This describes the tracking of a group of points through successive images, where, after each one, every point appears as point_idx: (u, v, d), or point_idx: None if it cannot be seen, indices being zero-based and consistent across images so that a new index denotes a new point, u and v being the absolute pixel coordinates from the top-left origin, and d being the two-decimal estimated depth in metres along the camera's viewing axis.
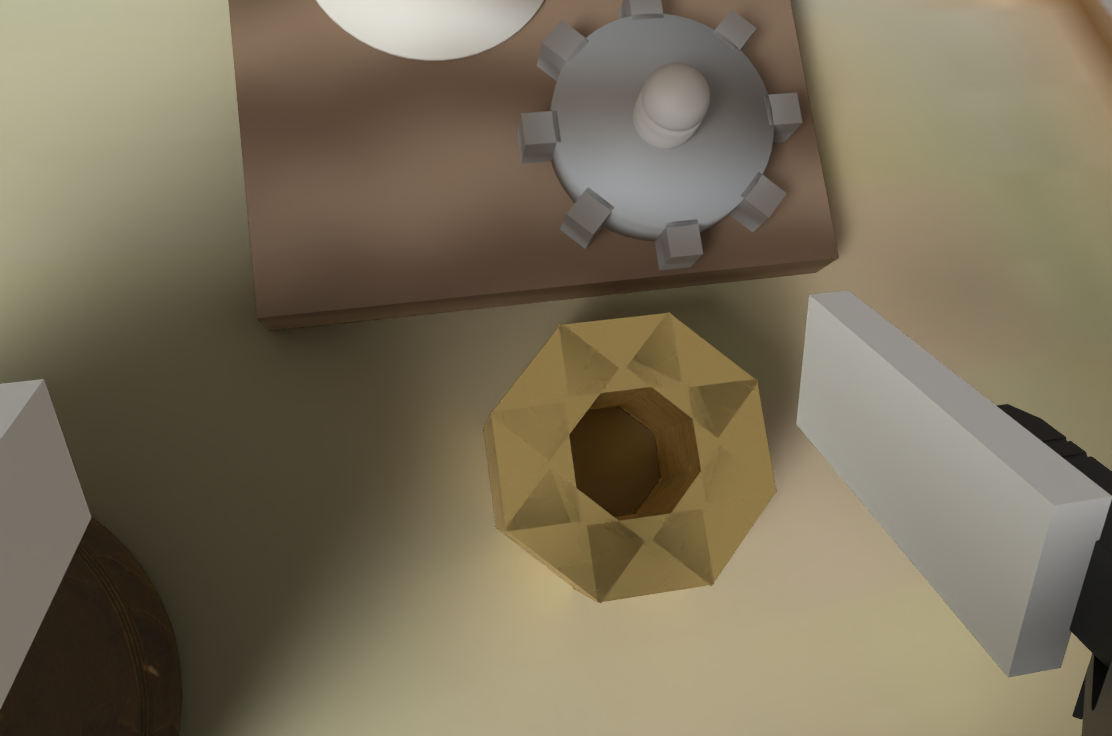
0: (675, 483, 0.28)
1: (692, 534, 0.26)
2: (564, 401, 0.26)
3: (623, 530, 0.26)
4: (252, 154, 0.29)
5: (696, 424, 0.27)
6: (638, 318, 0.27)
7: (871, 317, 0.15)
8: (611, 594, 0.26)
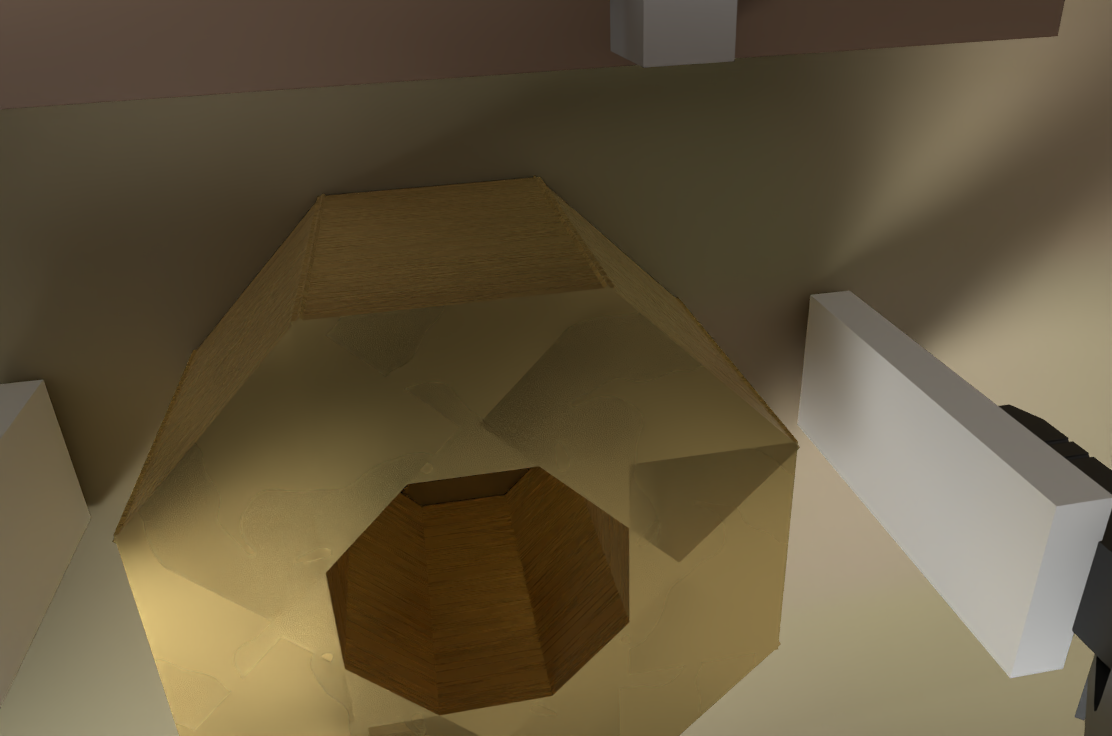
0: (578, 543, 0.14)
1: (591, 724, 0.13)
2: (312, 505, 0.10)
3: (447, 729, 0.12)
4: None
5: (635, 539, 0.11)
6: (523, 301, 0.10)
7: (873, 318, 0.15)
8: None
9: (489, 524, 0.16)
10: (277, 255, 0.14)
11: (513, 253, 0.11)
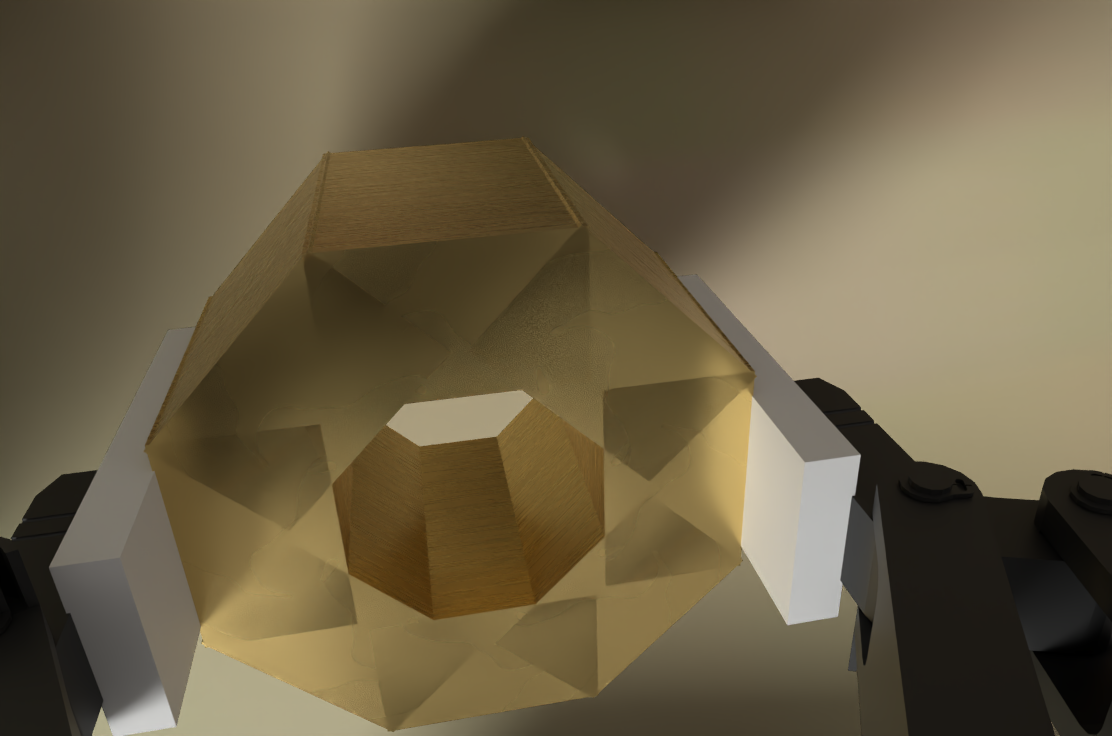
0: (561, 473, 0.15)
1: (571, 632, 0.14)
2: (319, 421, 0.12)
3: (441, 633, 0.14)
4: None
5: (609, 459, 0.13)
6: (506, 238, 0.11)
7: (708, 299, 0.16)
8: (412, 721, 0.14)
9: (481, 462, 0.17)
10: (286, 207, 0.15)
11: (499, 200, 0.12)
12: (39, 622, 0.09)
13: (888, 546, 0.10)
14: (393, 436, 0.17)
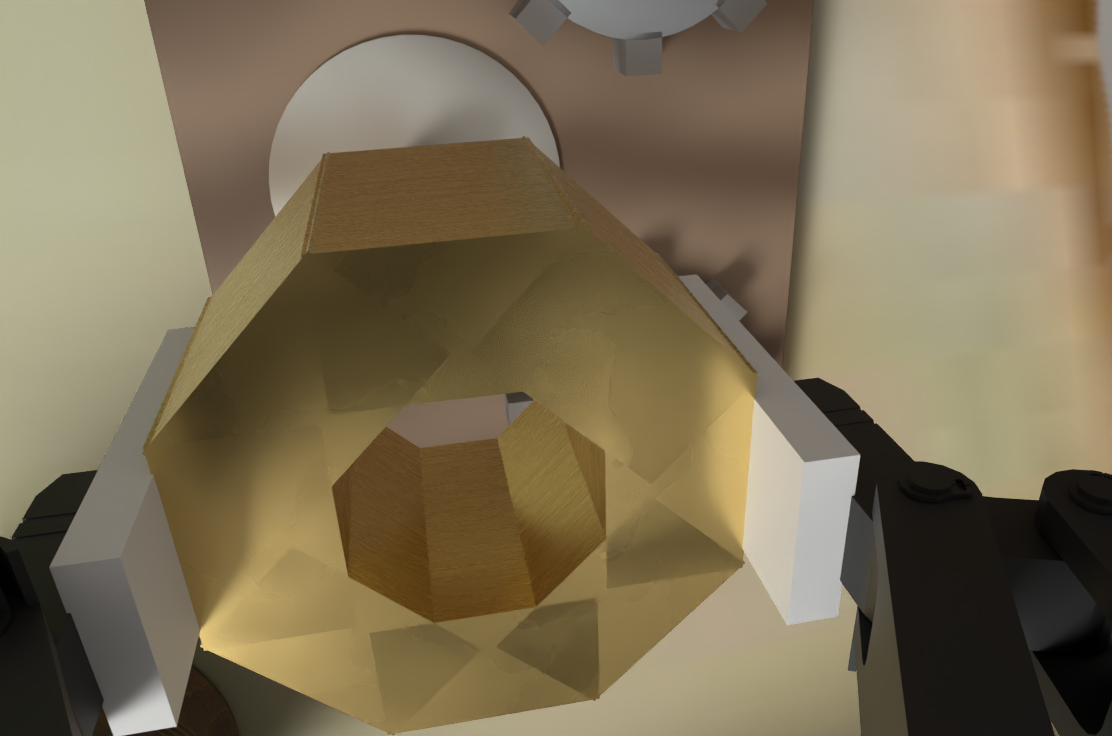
0: (562, 475, 0.15)
1: (572, 635, 0.14)
2: (319, 423, 0.12)
3: (441, 636, 0.14)
4: None
5: (611, 461, 0.13)
6: (507, 239, 0.11)
7: (707, 299, 0.16)
8: (413, 724, 0.14)
9: (482, 463, 0.17)
10: (286, 208, 0.15)
11: (500, 200, 0.12)
12: (39, 622, 0.09)
13: (887, 546, 0.10)
14: (393, 437, 0.17)
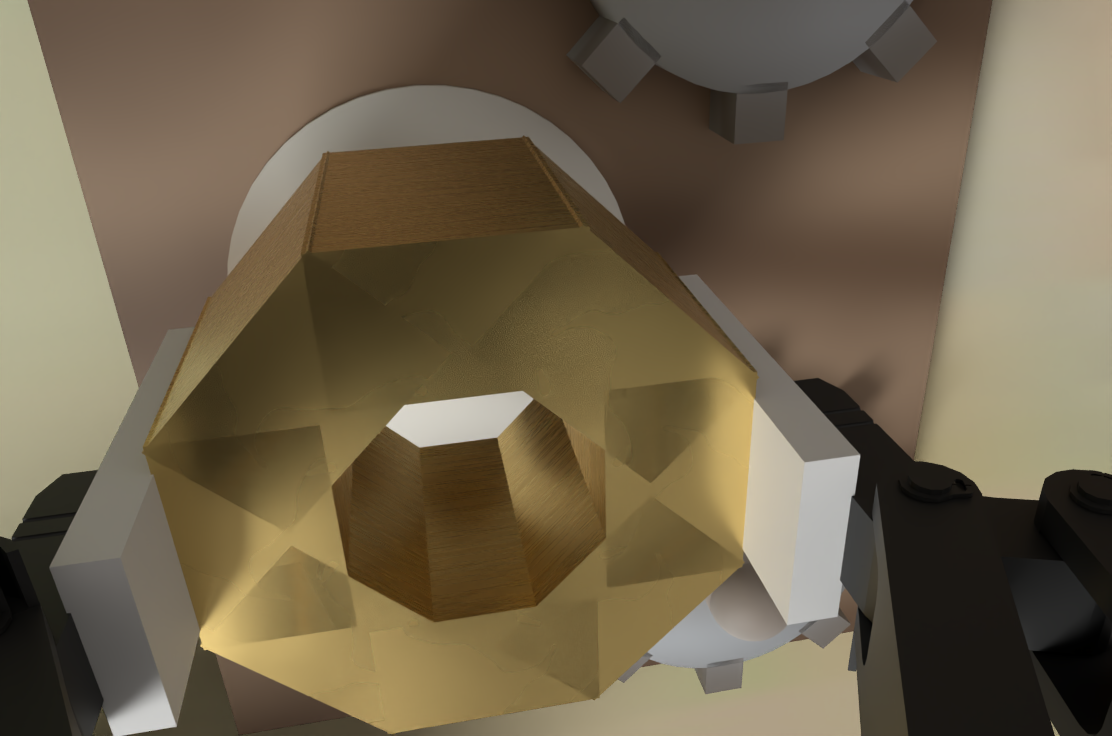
0: (562, 474, 0.15)
1: (572, 634, 0.14)
2: (319, 423, 0.12)
3: (441, 635, 0.14)
4: None
5: (610, 460, 0.13)
6: (507, 238, 0.11)
7: (707, 299, 0.16)
8: (413, 723, 0.14)
9: (482, 463, 0.17)
10: (285, 207, 0.15)
11: (500, 199, 0.12)
12: (39, 622, 0.09)
13: (887, 546, 0.10)
14: (393, 437, 0.17)
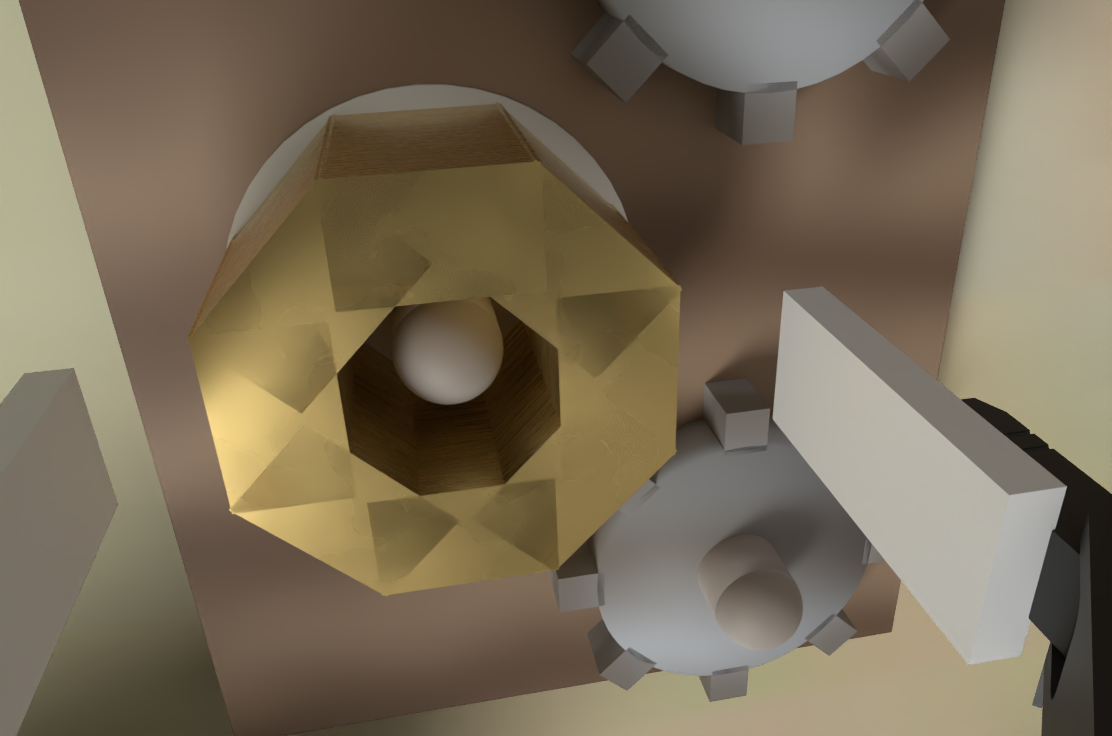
0: (529, 385, 0.18)
1: (535, 511, 0.17)
2: (327, 319, 0.14)
3: (426, 508, 0.16)
4: (205, 590, 0.23)
5: (563, 358, 0.16)
6: (476, 169, 0.14)
7: (843, 313, 0.15)
8: (403, 586, 0.17)
9: None
10: (298, 160, 0.18)
11: (473, 145, 0.15)
12: None
13: (1094, 576, 0.09)
14: (387, 363, 0.20)
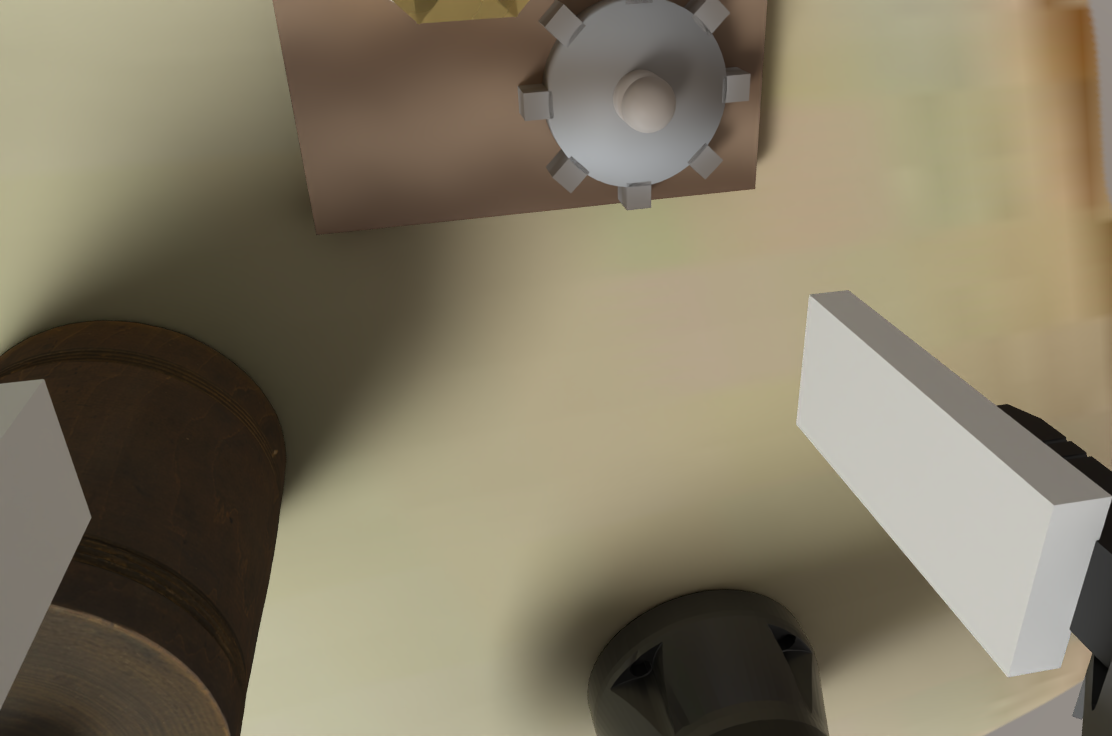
0: None
1: None
2: None
3: None
4: (300, 104, 0.36)
5: None
6: None
7: (871, 318, 0.15)
8: (428, 17, 0.30)
9: None
10: None
11: None
12: None
13: None
14: None
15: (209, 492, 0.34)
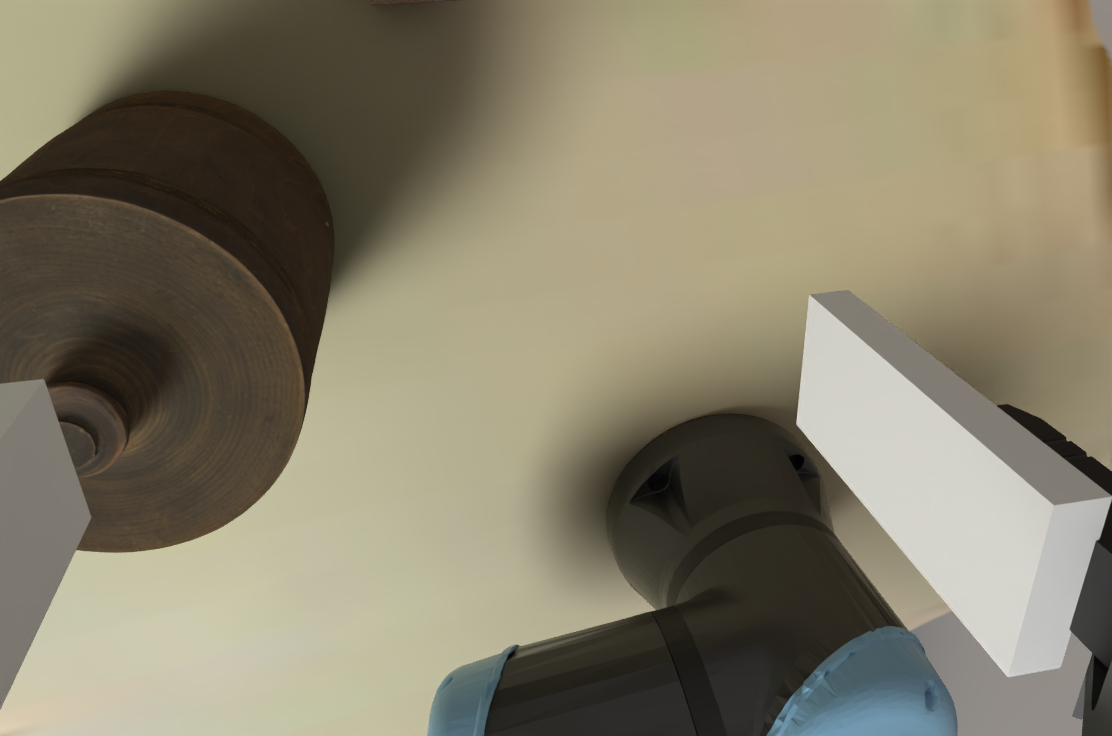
0: None
1: None
2: None
3: None
4: None
5: None
6: None
7: (871, 318, 0.15)
8: None
9: None
10: None
11: None
12: None
13: None
14: None
15: (279, 205, 0.38)
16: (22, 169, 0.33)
